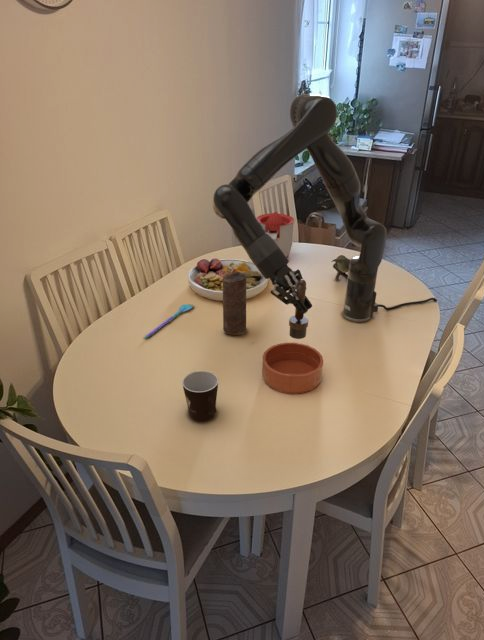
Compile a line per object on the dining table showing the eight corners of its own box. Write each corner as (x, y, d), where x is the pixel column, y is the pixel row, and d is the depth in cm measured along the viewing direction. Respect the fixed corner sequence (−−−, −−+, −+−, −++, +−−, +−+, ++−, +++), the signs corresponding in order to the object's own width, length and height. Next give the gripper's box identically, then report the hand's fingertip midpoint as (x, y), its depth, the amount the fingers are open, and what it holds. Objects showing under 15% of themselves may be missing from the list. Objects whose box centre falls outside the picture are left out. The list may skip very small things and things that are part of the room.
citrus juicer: (251, 265, 203) (252, 217, 192) (259, 249, 217) (259, 204, 206) (289, 268, 201) (292, 220, 190) (294, 252, 215) (296, 207, 204)
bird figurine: (341, 264, 203) (336, 232, 186) (363, 270, 199) (361, 237, 182) (328, 290, 198) (322, 259, 181) (351, 296, 194) (347, 265, 177)
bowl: (283, 282, 189) (283, 263, 185) (238, 313, 168) (238, 292, 163) (220, 264, 202) (219, 246, 198) (171, 291, 181) (170, 271, 177)
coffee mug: (185, 402, 126) (183, 371, 121) (219, 401, 127) (218, 370, 122) (183, 433, 117) (180, 401, 111) (219, 432, 117) (218, 399, 112)
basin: (308, 356, 146) (309, 339, 143) (330, 388, 133) (333, 370, 130) (255, 364, 142) (255, 346, 139) (272, 399, 129) (273, 380, 125)
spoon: (185, 304, 172) (185, 301, 171) (195, 306, 171) (195, 303, 170) (144, 338, 152) (144, 335, 152) (156, 341, 151) (155, 337, 150)
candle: (243, 339, 153) (243, 281, 142) (220, 336, 154) (218, 278, 144) (248, 327, 160) (249, 270, 149) (226, 324, 161) (225, 268, 150)
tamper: (303, 329, 133) (307, 274, 125) (309, 338, 129) (315, 282, 121) (285, 331, 132) (289, 276, 123) (292, 340, 128) (296, 284, 119)
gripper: (263, 256, 116) (306, 315, 118) (288, 239, 126) (328, 293, 128) (243, 272, 121) (285, 328, 123) (269, 254, 131) (307, 306, 133)
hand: (307, 310), depth 126 cm, fingers closed on tamper
